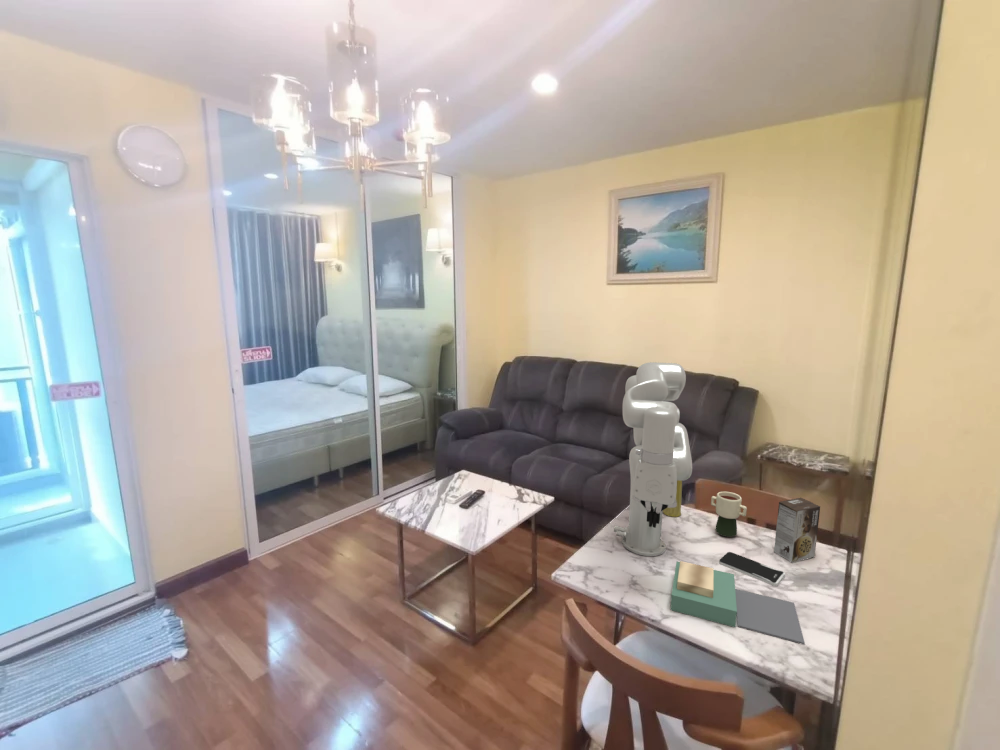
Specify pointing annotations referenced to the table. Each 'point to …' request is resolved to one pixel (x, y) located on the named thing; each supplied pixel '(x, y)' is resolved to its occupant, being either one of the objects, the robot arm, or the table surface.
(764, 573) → the smartphone
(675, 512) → the vase
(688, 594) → the green flat block
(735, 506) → the character mug
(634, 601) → the table surface
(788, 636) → the rubber mat
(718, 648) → the table surface
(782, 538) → the coffee box
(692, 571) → the oak tile
